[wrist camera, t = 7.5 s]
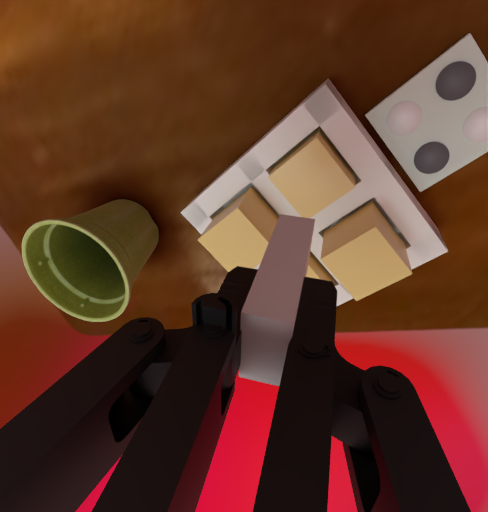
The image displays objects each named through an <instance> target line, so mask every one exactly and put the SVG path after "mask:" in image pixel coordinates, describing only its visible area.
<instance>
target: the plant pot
mask: <svg viewBox="0 0 488 512" xmlns="http://www.w3.org/2000/svg"><path fill="white" fill-rule="evenodd" d="M158 241H159V231H158V227H157V225H156V224H155V223H154V221H153V220H152V218H151V216H150V214H149V212H148V211H147V210H146V209H145V208H144V207H143V206H141V205H140V204H138V203H136V202H134V201H131V200H126V199H118V200H114V201H111V202H109V203H106V204H104V205H101V206H99V207H97V208H94V209H92V210H89V211H87V212H84V213H81V214H79V215H76V216H73V217H70V218H61V219H47V220H43V221H40V222H38V223H36V224H34V225H32V226H31V227H30V228H29V229H28V230H27V231H26V233H25V235H24V237H23V241H22V257H23V262H24V265H25V267H26V270H27V272H28V274H29V276H30V277H31V279H32V281H33V282H34V284H35V285H36V286H37V288H38V289H39V290H40V292H41V293H42V294H43V295H44V296H45V297H46V298H47V299H48V300H49V301H50V302H52V303H53V304H54V305H55V306H57V307H58V308H60V309H61V310H63V311H64V312H66V313H68V314H70V315H72V316H74V317H77V318H79V319H82V320H86V321H93V322H104V321H109V320H112V319H114V318H116V317H118V316H119V315H121V314H122V312H123V311H124V310H125V309H126V307H127V305H128V303H129V300H130V294H131V290H132V287H133V283H134V281H135V279H136V278H137V276H138V274H139V273H140V271H141V270H142V268H143V266H144V265H145V263H146V262H147V260H148V259H149V257H150V255H151V254H152V252H153V251H154V249H155V248H156V246H157V244H158Z"/></svg>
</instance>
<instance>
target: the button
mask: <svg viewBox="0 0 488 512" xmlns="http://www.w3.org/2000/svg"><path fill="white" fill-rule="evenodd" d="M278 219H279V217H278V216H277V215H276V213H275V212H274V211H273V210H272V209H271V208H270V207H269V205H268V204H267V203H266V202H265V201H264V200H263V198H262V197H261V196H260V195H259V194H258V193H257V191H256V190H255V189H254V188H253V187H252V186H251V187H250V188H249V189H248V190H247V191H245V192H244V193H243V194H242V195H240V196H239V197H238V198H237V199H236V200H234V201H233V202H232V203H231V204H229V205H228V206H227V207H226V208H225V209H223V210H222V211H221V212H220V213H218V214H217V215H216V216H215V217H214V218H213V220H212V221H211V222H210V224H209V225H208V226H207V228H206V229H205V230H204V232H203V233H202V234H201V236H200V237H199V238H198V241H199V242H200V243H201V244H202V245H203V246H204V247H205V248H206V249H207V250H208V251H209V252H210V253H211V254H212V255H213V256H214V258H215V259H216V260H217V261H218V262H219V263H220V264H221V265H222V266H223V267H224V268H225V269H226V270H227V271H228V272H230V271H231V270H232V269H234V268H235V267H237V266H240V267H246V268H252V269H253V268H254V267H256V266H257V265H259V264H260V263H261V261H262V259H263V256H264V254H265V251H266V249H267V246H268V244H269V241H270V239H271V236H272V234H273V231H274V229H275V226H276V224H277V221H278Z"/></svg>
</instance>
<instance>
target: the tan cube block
mask: <svg viewBox="0 0 488 512" xmlns="http://www.w3.org/2000/svg"><path fill="white" fill-rule="evenodd" d="M306 277H310V278H315V279H321V280H327V281H332V282H333V284H334V277H333V276H332V275H331V274H330V273H329V272H328V270H327V269H326V268H325V267H324V266H323V265H322V263H321V262H320V261H319V260H318V259H317V258H316V257H315V255H314V254H313V253H312V252H311V251H310V256H309V262H308V269H307V275H306Z"/></svg>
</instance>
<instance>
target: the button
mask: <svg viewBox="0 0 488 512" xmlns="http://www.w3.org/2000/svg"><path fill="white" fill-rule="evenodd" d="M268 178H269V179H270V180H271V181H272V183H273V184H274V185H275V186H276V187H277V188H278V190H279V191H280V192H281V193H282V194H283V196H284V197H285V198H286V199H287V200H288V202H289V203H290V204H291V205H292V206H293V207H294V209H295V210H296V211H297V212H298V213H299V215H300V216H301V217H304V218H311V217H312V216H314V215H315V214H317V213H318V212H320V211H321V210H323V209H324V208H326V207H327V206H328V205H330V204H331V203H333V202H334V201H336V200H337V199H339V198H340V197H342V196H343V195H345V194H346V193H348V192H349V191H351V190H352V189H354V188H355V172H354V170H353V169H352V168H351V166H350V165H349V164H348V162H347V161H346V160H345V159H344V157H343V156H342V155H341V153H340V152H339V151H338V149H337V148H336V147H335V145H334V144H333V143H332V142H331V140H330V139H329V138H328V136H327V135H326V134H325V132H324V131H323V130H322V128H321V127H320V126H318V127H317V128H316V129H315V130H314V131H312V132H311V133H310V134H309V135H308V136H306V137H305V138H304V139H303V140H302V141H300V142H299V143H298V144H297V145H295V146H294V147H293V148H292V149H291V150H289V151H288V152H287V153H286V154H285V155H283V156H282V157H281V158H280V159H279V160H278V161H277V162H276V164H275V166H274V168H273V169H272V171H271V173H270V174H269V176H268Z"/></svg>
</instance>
